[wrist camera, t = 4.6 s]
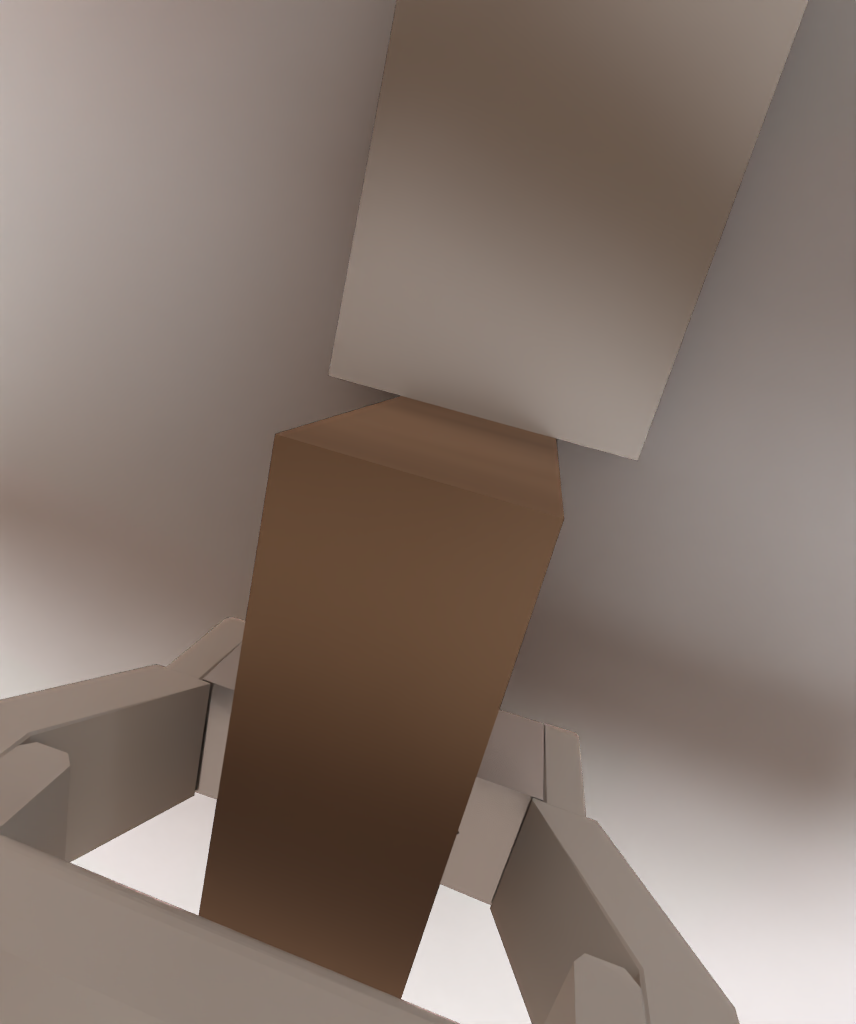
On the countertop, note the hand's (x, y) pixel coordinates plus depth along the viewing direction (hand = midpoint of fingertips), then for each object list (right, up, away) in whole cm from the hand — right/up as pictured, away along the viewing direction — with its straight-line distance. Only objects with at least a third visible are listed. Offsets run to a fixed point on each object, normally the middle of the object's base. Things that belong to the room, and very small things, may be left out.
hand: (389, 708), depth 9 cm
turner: (+2, +5, +1) cm, 5 cm away
